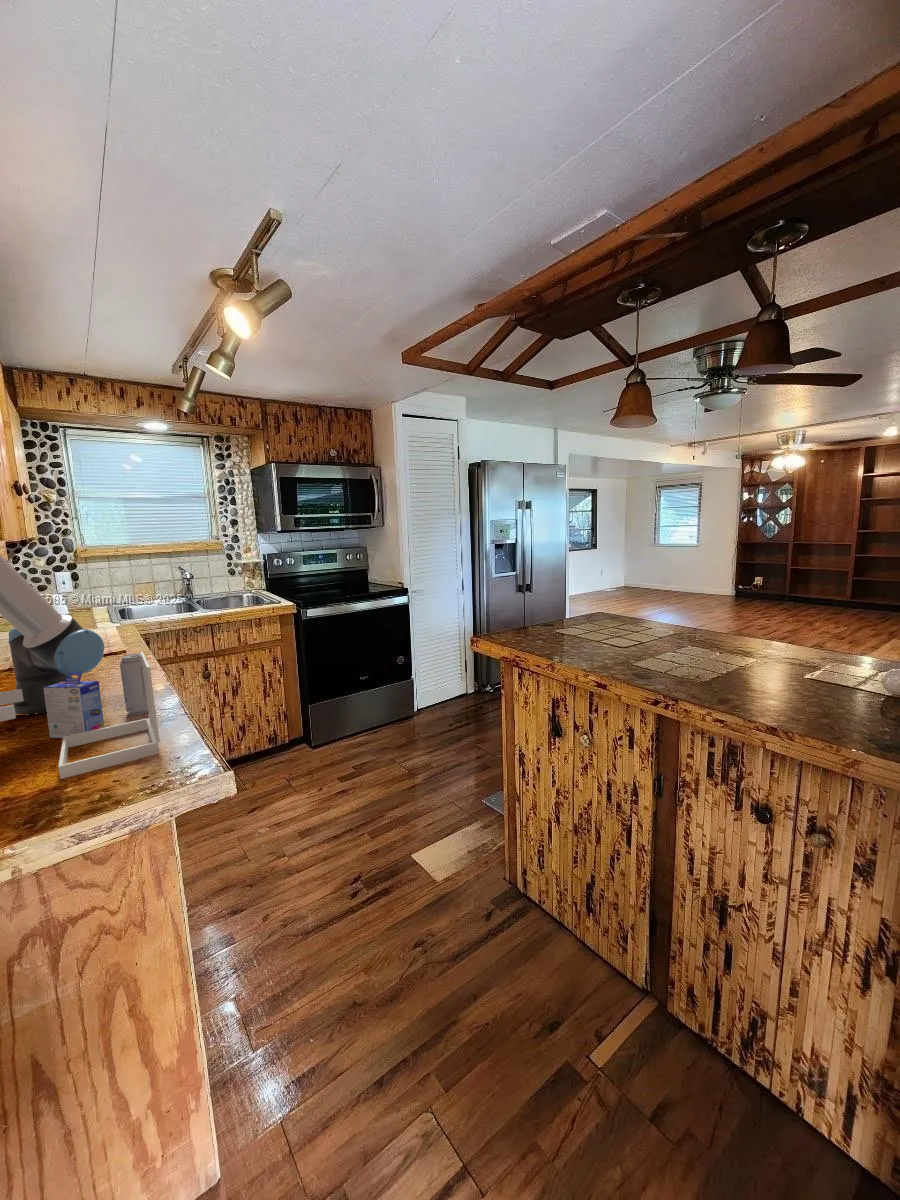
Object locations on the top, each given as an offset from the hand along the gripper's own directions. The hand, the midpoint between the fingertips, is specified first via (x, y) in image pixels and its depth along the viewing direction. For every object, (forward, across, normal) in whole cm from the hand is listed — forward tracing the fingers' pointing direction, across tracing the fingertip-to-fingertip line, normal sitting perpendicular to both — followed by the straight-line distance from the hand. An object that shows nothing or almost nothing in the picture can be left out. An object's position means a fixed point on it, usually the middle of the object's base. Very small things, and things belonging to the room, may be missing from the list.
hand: (19, 702), depth 105 cm
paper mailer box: (+15, +14, -11) cm, 23 cm away
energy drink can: (+22, -10, -11) cm, 26 cm away
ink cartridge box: (+9, -2, -11) cm, 14 cm away
